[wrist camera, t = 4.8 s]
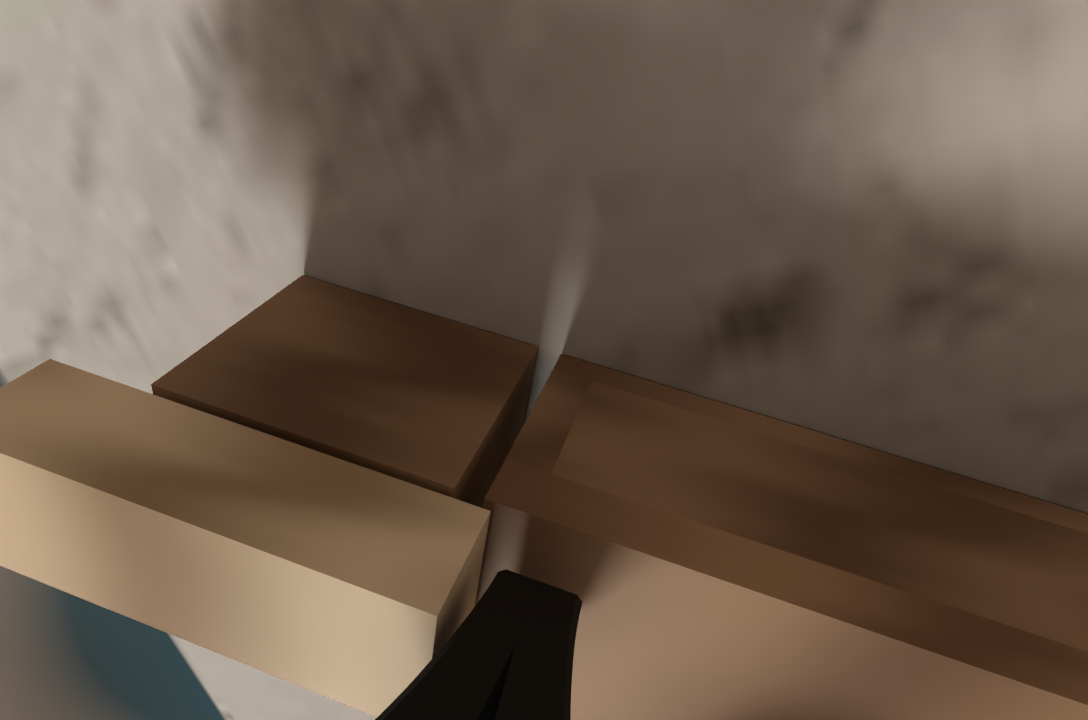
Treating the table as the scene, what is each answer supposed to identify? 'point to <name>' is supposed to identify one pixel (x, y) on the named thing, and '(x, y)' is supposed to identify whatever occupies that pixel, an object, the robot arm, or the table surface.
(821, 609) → the lid
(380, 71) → the table surface
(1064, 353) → the table surface
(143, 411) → the block
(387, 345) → the open wooden box
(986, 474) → the table surface
